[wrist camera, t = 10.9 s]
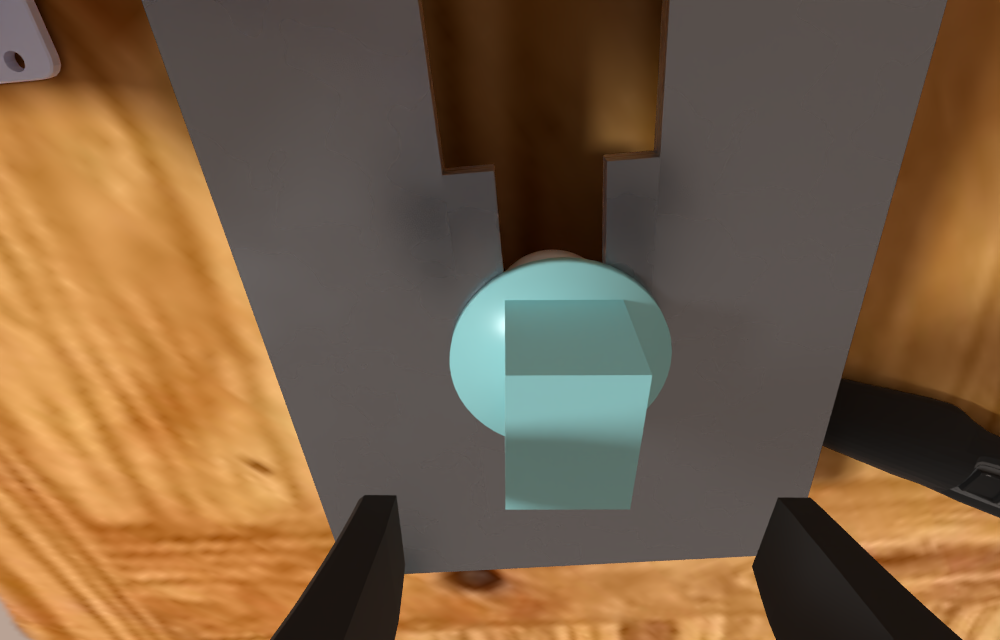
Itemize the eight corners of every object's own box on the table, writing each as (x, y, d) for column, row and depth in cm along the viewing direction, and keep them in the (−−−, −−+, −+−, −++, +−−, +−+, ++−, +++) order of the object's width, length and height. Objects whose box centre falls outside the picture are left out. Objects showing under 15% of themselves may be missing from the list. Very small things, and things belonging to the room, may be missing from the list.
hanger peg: (462, 374, 20) (445, 536, 14) (454, 212, 17) (428, 334, 11) (631, 374, 20) (685, 536, 14) (654, 212, 17) (736, 333, 11)
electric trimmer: (800, 331, 21) (844, 383, 18) (1106, 453, 24) (1184, 515, 21) (740, 404, 23) (771, 462, 20) (1031, 510, 25) (1094, 573, 23)
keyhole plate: (370, 488, 24) (347, 576, 21) (178, -178, 13) (55, -239, 9) (747, 466, 24) (791, 553, 20) (888, -259, 12) (1047, -359, 9)
